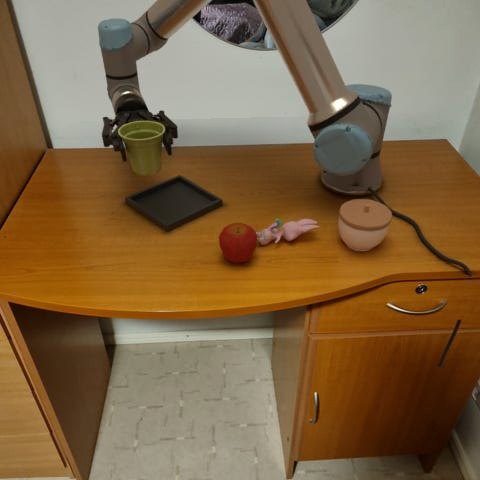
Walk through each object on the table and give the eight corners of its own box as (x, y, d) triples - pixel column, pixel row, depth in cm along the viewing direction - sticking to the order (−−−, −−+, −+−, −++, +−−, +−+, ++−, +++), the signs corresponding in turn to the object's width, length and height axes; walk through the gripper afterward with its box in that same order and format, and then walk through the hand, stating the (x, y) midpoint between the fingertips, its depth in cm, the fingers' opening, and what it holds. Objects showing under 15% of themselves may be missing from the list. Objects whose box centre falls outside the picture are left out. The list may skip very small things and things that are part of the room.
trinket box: (384, 260, 100) (395, 222, 94) (332, 254, 102) (339, 216, 95) (384, 232, 108) (393, 194, 101) (336, 226, 109) (342, 189, 103)
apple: (255, 246, 104) (256, 215, 98) (257, 269, 98) (258, 237, 93) (219, 247, 104) (218, 215, 98) (219, 270, 98) (218, 238, 92)
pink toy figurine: (256, 256, 103) (323, 239, 104) (252, 234, 99) (322, 216, 100) (250, 240, 108) (314, 223, 108) (246, 217, 103) (313, 200, 104)
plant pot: (126, 160, 106) (120, 120, 100) (169, 158, 107) (165, 119, 101) (122, 180, 100) (115, 140, 94) (168, 179, 100) (164, 138, 94)
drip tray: (222, 205, 116) (222, 199, 114) (167, 232, 107) (166, 226, 106) (180, 180, 124) (179, 174, 123) (125, 203, 116) (124, 197, 115)
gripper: (177, 120, 116) (199, 162, 101) (87, 131, 112) (96, 177, 96) (174, 87, 111) (197, 126, 96) (79, 97, 106) (88, 140, 91)
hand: (147, 151), depth 96 cm, fingers closed on plant pot, 8 cm apart
